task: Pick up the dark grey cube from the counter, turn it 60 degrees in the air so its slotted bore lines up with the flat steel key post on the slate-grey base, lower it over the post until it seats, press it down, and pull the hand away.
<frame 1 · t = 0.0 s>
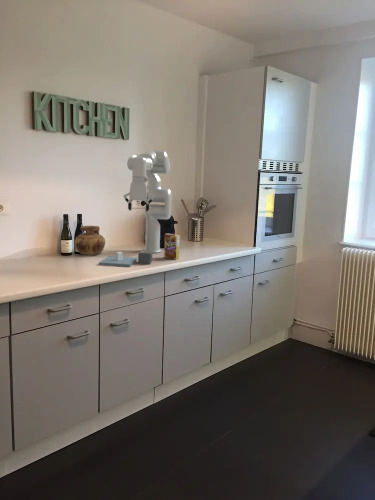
hand: (138, 210, 246), 31 cm above the worktop, tool pointing down, fingers open, 9 cm apart
dark grey cube: (145, 262, 258), on the worktop
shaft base: (119, 262, 257), on the worktop
candy box: (171, 258, 275), on the worktop
clay pot: (90, 254, 278), on the worktop
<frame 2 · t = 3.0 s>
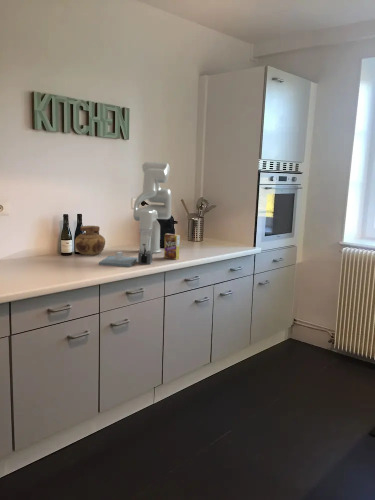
hand: (145, 261, 258), 1 cm above the worktop, tool pointing down, fingers closed on dark grey cube, 7 cm apart
dark grey cube: (145, 262, 258), on the worktop, touching gripper
everything else where it was.
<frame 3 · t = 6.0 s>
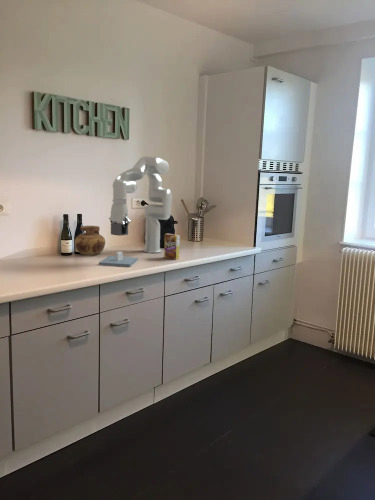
hand: (119, 232, 254), 18 cm above the worktop, tool pointing down, fingers closed on dark grey cube, 7 cm apart
dark grey cube: (119, 234, 254), point 17 cm above the worktop, touching gripper
everything else where it was.
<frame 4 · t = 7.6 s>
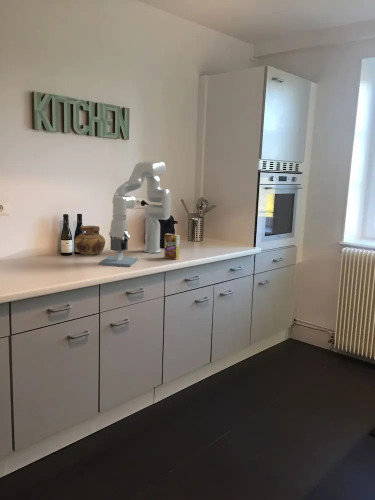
hand: (119, 248, 255), 9 cm above the worktop, tool pointing down, fingers closed on dark grey cube, 7 cm apart
dark grey cube: (119, 249, 255), point 8 cm above the worktop, touching gripper
everything else where it was.
when the fingers open (3 cm above the worktop, at t = 9.1 s): dark grey cube stays where it is, resting on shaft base.
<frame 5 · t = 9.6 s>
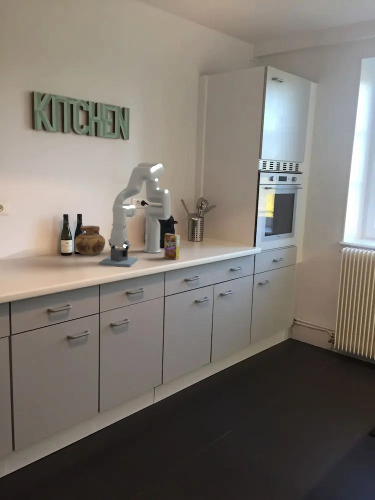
hand: (119, 255, 256), 4 cm above the worktop, tool pointing down, fingers open, 9 cm apart
dark grey cube: (119, 259, 257), point 1 cm above the worktop, touching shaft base
everything else where it was.
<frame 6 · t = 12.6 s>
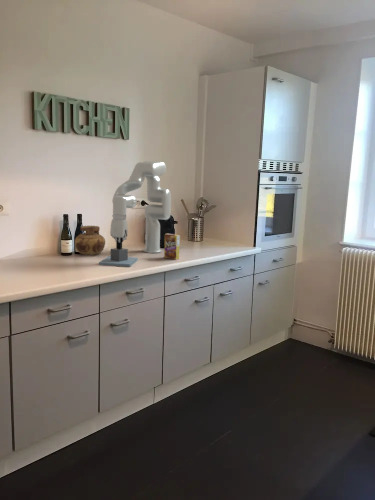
hand: (119, 248, 255), 8 cm above the worktop, tool pointing down, fingers closed
dark grey cube: (119, 259, 257), point 1 cm above the worktop, touching gripper, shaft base
everything else where it was.
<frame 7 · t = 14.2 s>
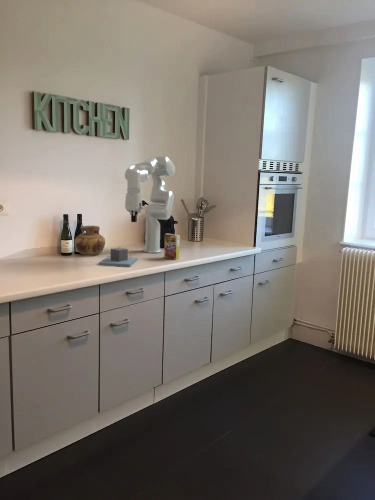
hand: (133, 221, 262), 23 cm above the worktop, tool pointing down, fingers closed
dark grey cube: (119, 259, 257), point 1 cm above the worktop, touching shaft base
everything else where it was.
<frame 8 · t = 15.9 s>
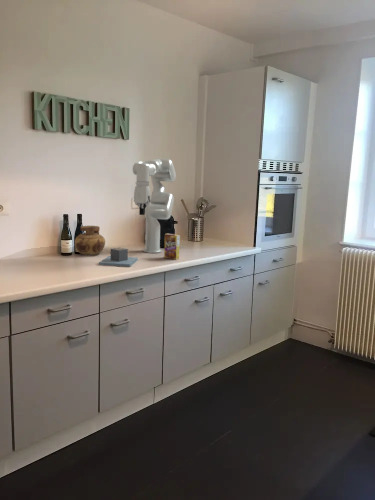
hand: (142, 214, 266), 27 cm above the worktop, tool pointing down, fingers closed
nothing on the worktop moved.
at the end: dark grey cube 0.0 cm off-centre on the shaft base, point 1.5 cm above the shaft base's base; dark grey cube tilted 0°; the gripper is holding nothing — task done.
